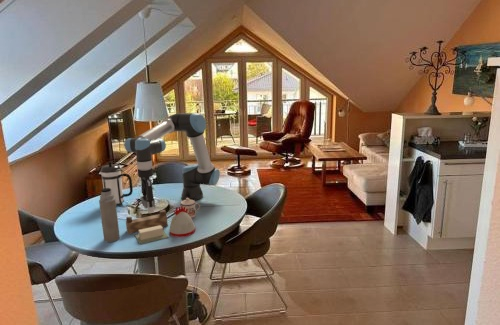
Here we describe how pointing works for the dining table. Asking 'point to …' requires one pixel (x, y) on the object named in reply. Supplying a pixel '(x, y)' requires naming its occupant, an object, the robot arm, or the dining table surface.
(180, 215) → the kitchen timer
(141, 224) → the hand plane
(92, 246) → the dining table surface
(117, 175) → the coffee press
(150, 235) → the butter dish
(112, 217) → the thermos bottle
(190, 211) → the teacup with lid
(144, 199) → the lever cap
